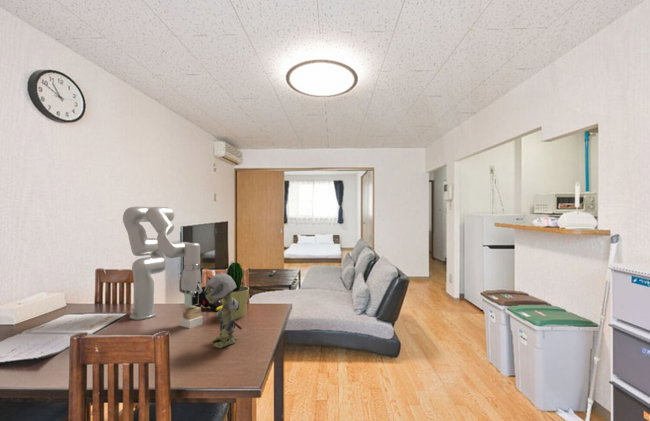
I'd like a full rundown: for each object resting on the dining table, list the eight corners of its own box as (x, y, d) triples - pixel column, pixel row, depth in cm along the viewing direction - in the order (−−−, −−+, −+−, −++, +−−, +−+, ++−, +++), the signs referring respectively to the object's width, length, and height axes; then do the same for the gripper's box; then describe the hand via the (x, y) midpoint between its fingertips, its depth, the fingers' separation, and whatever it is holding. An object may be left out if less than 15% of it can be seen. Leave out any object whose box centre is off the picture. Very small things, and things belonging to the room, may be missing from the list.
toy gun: (207, 324, 176) (219, 308, 174) (188, 303, 181) (198, 287, 179) (213, 321, 181) (224, 305, 179) (194, 300, 186) (204, 285, 184)
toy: (203, 338, 137) (205, 271, 137) (241, 334, 142) (242, 269, 143) (203, 352, 122) (204, 277, 123) (244, 347, 128) (245, 275, 129)
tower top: (182, 317, 153) (183, 308, 153) (193, 314, 158) (193, 305, 158) (190, 319, 150) (190, 310, 150) (200, 316, 155) (201, 307, 155)
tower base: (180, 326, 152) (180, 318, 152) (192, 321, 159) (192, 314, 159) (190, 328, 149) (190, 320, 149) (202, 324, 156) (202, 316, 156)
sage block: (184, 305, 153) (184, 293, 153) (192, 303, 157) (192, 291, 157) (190, 306, 151) (190, 294, 151) (198, 304, 155) (198, 292, 155)
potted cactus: (252, 312, 175) (253, 259, 176) (242, 321, 160) (243, 263, 160) (227, 310, 177) (227, 259, 177) (214, 319, 161) (215, 262, 162)
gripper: (174, 267, 155) (173, 303, 155) (197, 270, 147) (196, 308, 147) (187, 265, 162) (186, 299, 161) (209, 267, 154) (209, 304, 153)
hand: (191, 303), depth 154 cm, fingers closed on sage block, 4 cm apart
